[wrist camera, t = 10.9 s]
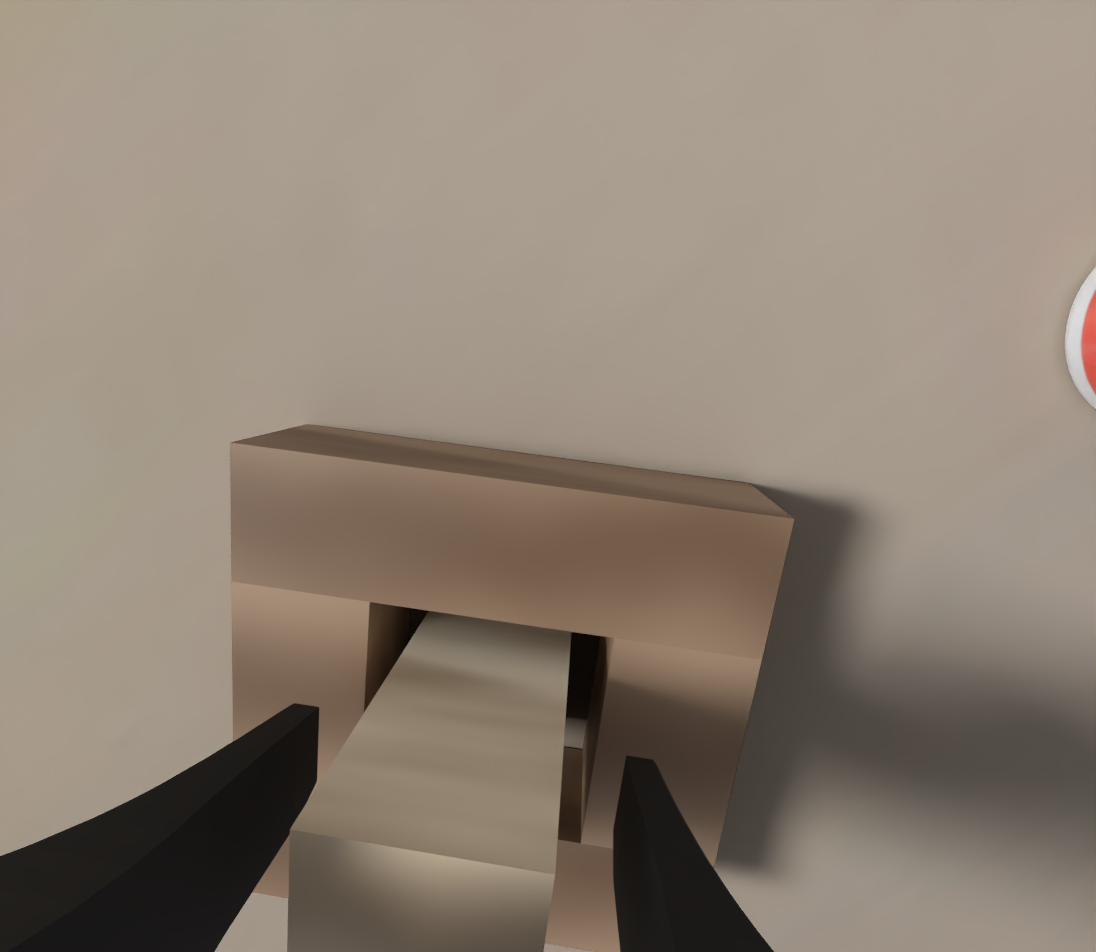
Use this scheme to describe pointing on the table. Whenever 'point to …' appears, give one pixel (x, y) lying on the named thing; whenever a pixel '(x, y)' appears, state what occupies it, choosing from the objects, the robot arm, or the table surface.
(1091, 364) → the pill bottle
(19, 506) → the table surface
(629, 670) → the socket block
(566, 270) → the table surface
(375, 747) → the peg
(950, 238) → the table surface
